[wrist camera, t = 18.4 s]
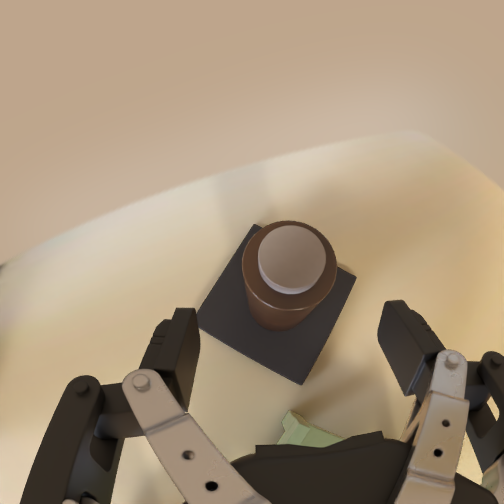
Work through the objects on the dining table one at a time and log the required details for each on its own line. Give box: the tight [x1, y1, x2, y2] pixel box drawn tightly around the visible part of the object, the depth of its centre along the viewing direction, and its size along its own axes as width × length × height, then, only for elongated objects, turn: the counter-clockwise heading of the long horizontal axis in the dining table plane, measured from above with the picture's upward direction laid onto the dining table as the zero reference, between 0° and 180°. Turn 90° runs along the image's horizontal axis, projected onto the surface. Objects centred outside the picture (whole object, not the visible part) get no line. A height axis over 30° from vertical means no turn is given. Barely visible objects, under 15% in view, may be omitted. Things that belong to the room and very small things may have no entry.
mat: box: [196, 224, 357, 385], centre depth 23 cm, size 10×10×1 cm
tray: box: [276, 410, 346, 447], centre depth 14 cm, size 12×10×7 cm
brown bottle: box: [242, 221, 337, 332], centre depth 18 cm, size 5×5×10 cm
